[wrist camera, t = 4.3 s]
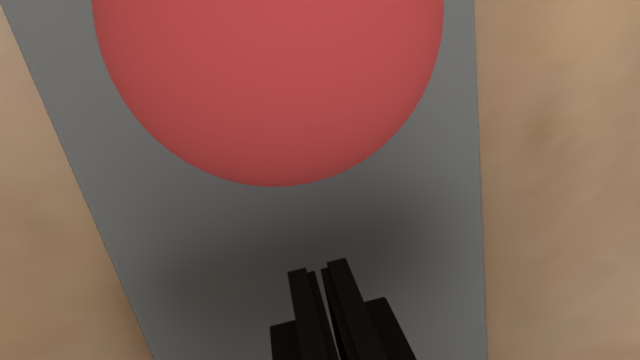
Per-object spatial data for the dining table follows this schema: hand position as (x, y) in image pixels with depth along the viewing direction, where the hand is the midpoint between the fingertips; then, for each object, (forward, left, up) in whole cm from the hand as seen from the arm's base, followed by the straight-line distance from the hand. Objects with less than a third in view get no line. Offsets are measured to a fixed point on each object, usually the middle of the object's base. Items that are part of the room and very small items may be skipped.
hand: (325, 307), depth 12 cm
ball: (+5, +5, +1) cm, 8 cm away
